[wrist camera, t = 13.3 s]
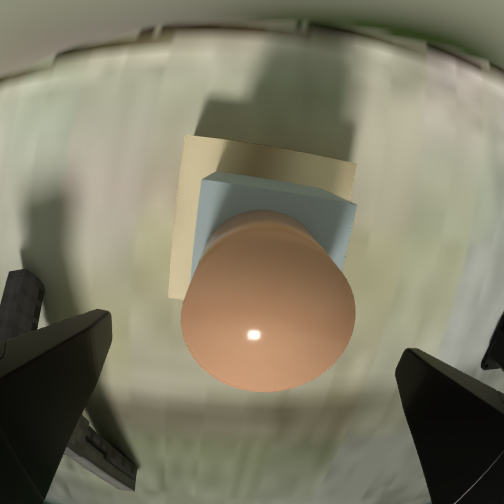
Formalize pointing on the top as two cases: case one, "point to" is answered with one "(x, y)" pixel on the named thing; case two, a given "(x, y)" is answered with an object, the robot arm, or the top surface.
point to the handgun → (84, 437)
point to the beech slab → (249, 164)
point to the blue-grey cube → (275, 199)
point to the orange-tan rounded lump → (266, 304)
